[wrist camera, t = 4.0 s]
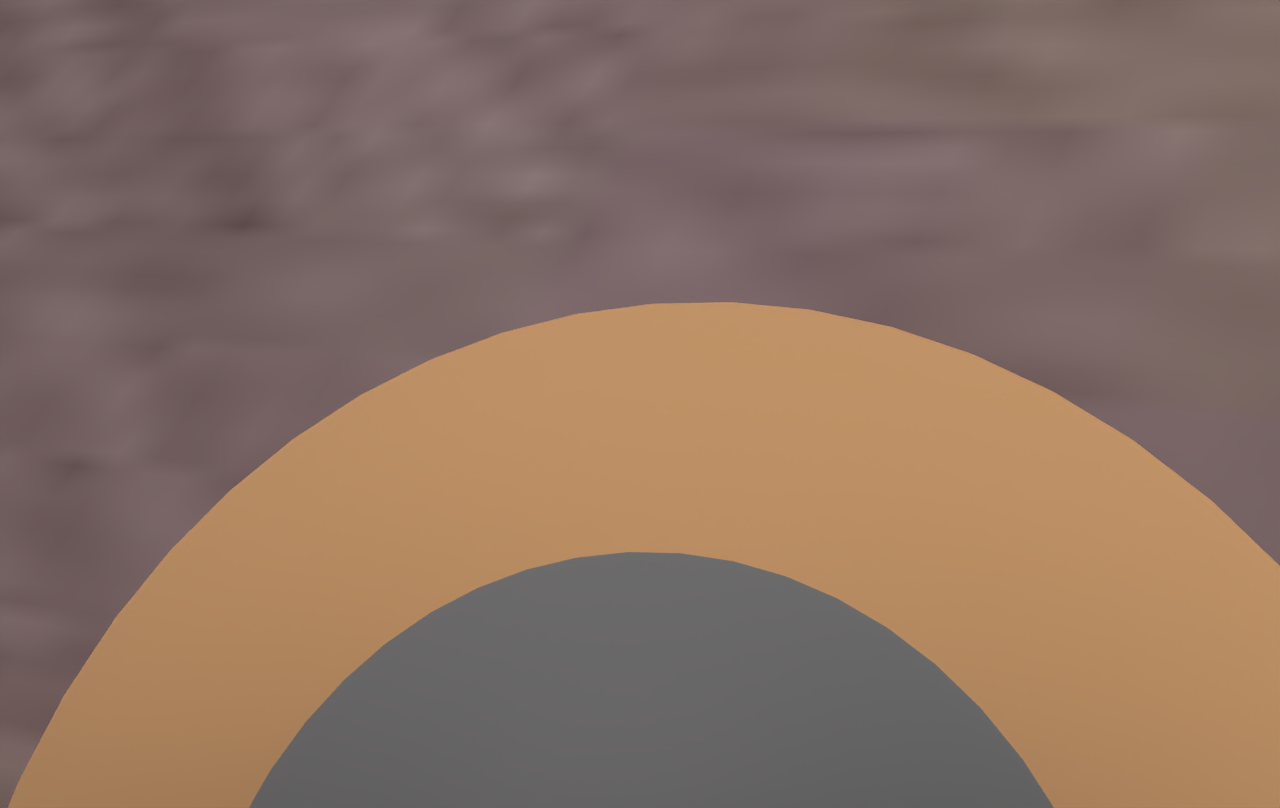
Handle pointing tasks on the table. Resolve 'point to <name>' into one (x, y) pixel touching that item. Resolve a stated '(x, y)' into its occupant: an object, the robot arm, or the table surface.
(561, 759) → the plug
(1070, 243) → the table surface
